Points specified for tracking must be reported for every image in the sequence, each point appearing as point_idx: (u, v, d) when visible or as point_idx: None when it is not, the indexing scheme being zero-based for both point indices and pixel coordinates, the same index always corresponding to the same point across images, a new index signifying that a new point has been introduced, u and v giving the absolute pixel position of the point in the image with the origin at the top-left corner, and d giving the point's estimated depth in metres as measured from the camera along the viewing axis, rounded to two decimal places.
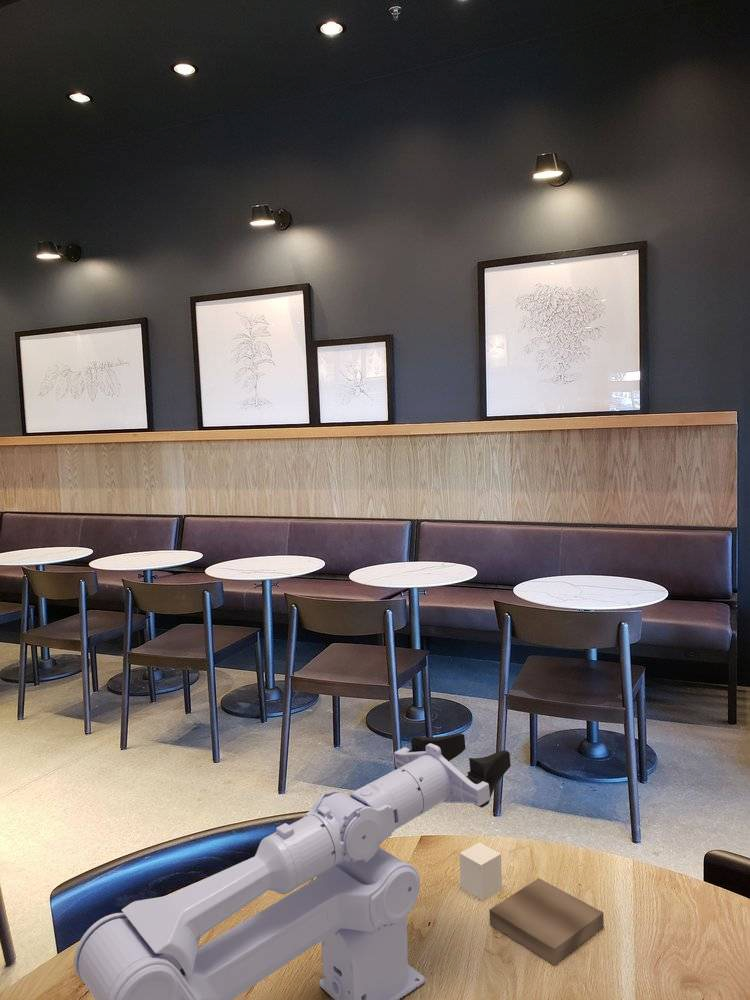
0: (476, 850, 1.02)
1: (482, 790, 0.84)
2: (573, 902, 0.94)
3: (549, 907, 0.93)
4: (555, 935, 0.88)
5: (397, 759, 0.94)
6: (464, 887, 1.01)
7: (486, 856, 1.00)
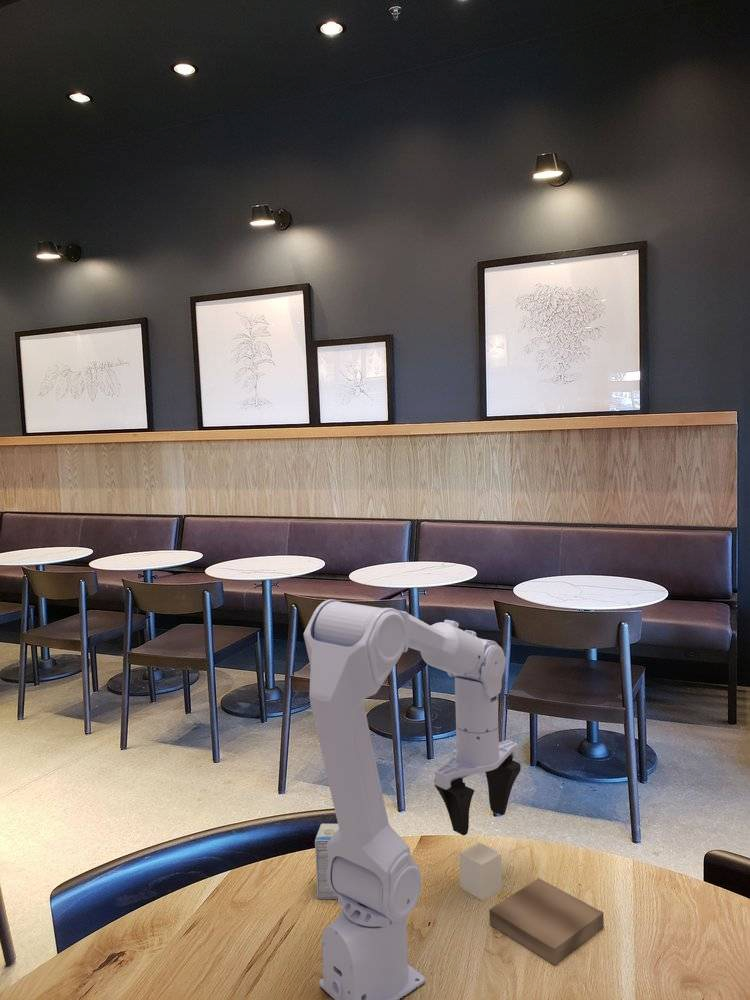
0: (476, 850, 1.02)
1: None
2: (573, 902, 0.94)
3: (549, 907, 0.93)
4: (555, 935, 0.88)
5: (441, 771, 0.96)
6: (464, 887, 1.01)
7: (486, 856, 1.00)
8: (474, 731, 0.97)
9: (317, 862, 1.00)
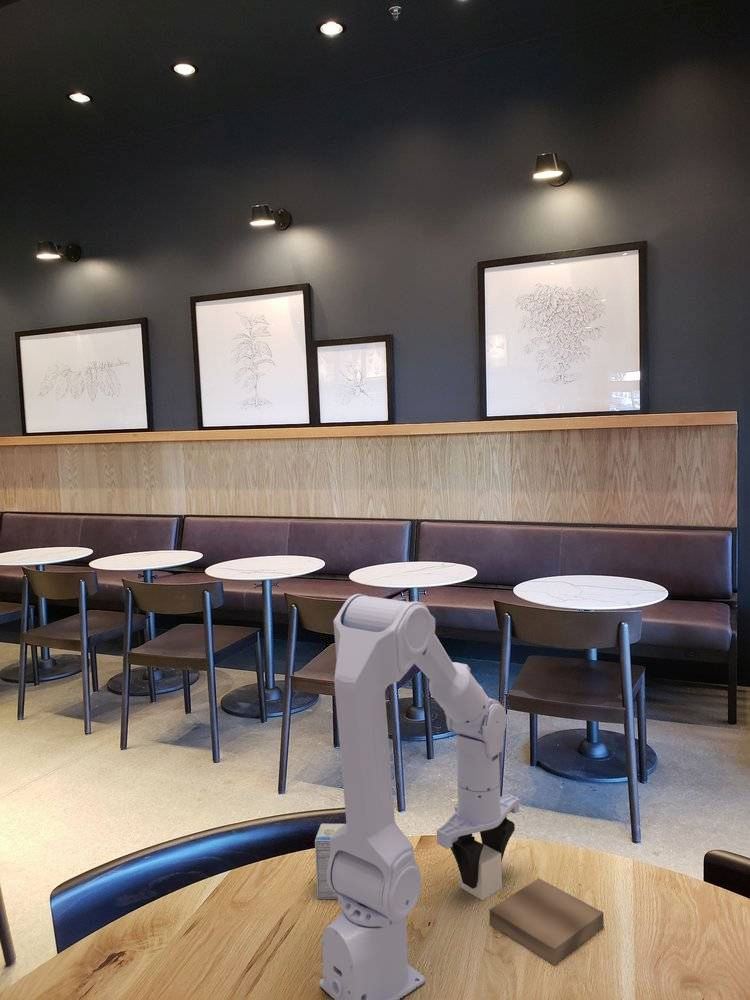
0: None
1: None
2: (573, 902, 0.94)
3: (549, 907, 0.93)
4: (555, 935, 0.88)
5: (443, 830, 0.96)
6: (464, 887, 1.01)
7: (486, 856, 1.00)
8: (476, 790, 0.97)
9: (317, 862, 1.00)
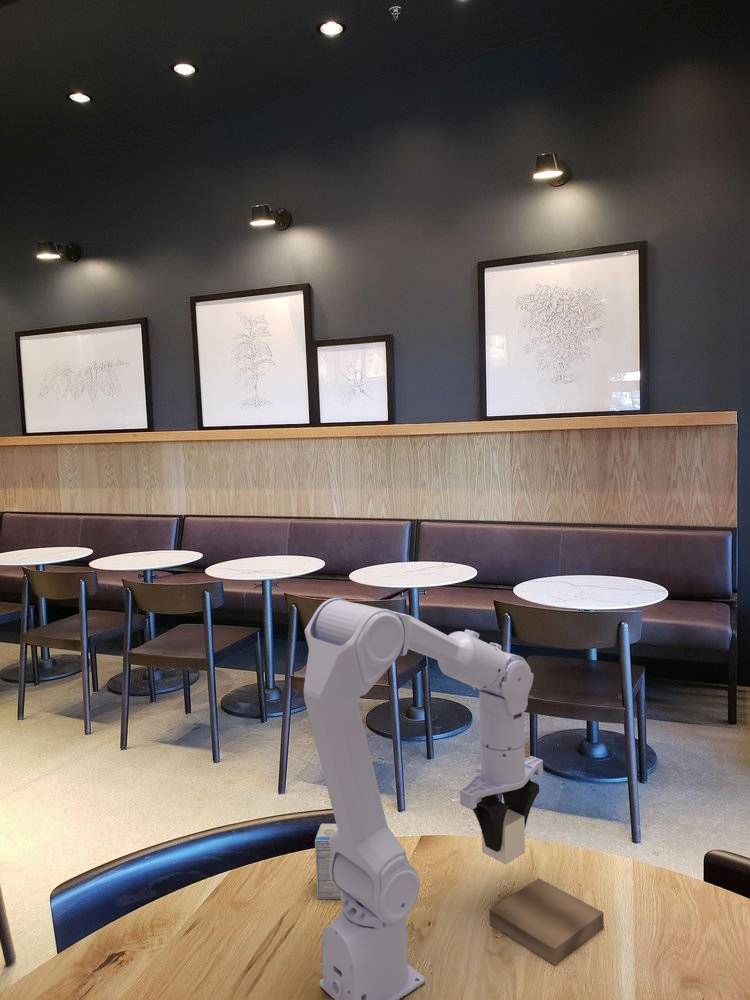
0: None
1: None
2: (573, 902, 0.94)
3: (549, 907, 0.93)
4: (555, 935, 0.88)
5: (467, 790, 0.92)
6: (486, 851, 0.97)
7: (509, 819, 0.96)
8: (496, 748, 0.94)
9: (317, 862, 1.00)
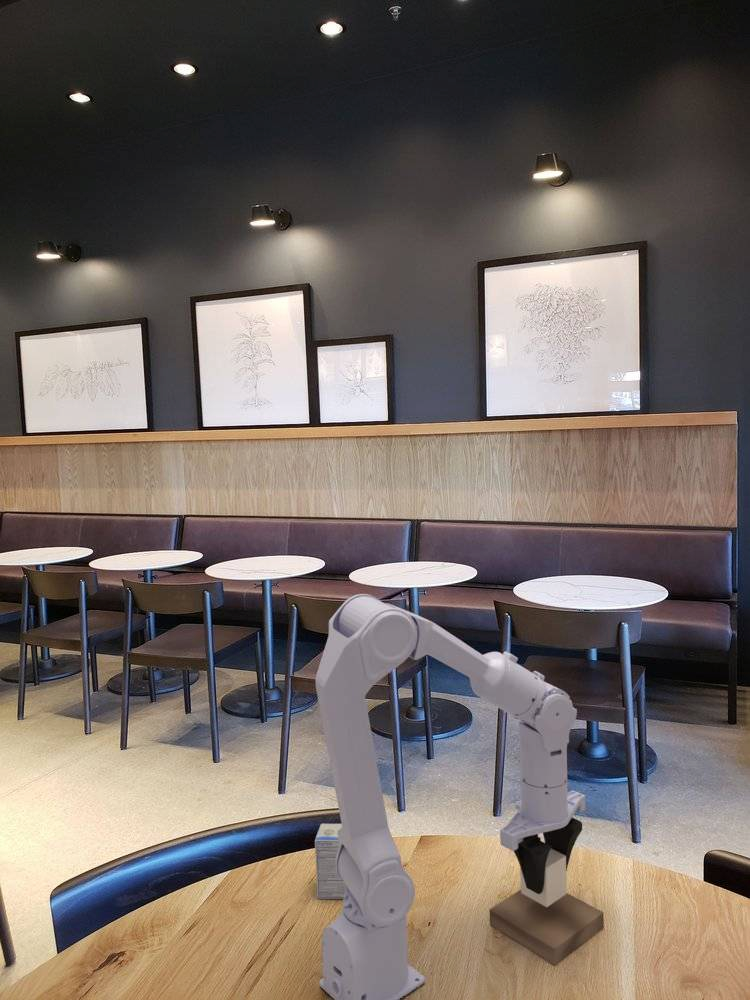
0: None
1: None
2: (573, 902, 0.94)
3: (549, 907, 0.93)
4: (555, 935, 0.88)
5: (508, 830, 0.88)
6: (525, 892, 0.92)
7: (550, 859, 0.92)
8: (531, 783, 0.89)
9: (317, 862, 1.00)
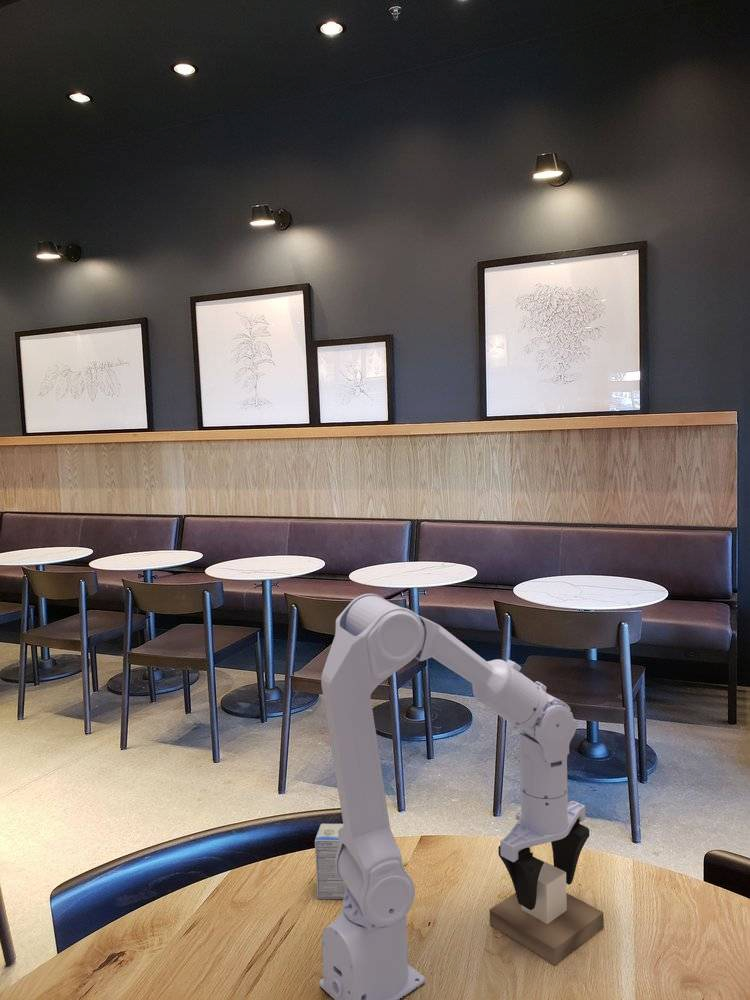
0: None
1: None
2: (573, 902, 0.94)
3: None
4: (555, 935, 0.88)
5: (508, 841, 0.88)
6: (525, 908, 0.93)
7: (550, 875, 0.92)
8: (532, 794, 0.89)
9: (317, 862, 1.00)
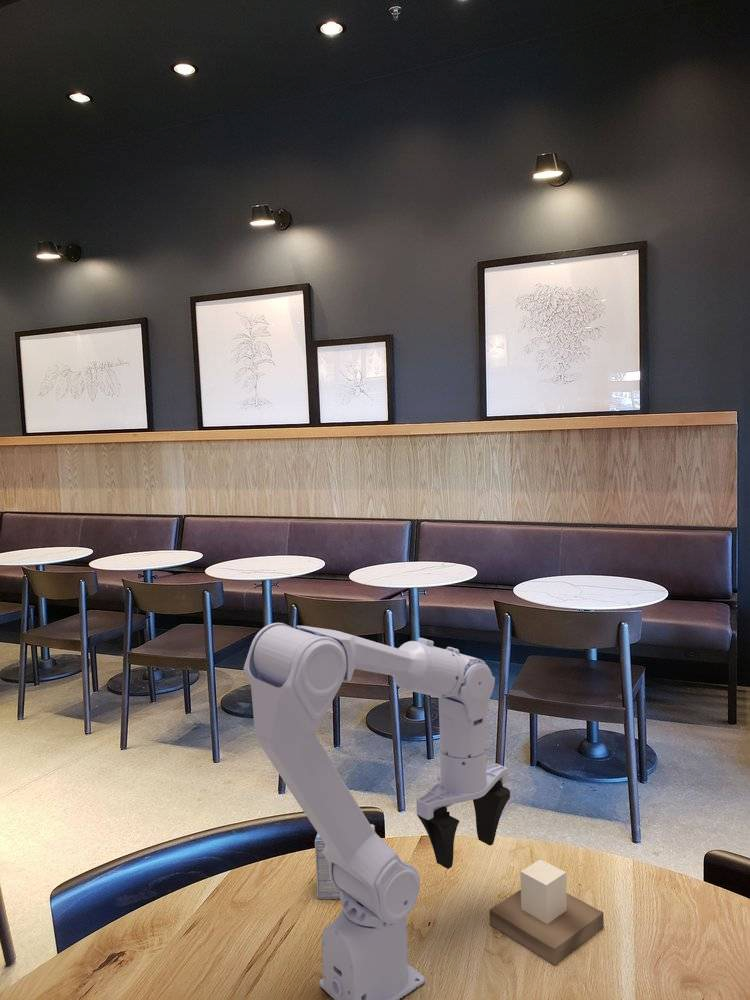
0: (538, 868, 0.93)
1: None
2: (573, 902, 0.94)
3: None
4: (555, 935, 0.88)
5: (424, 800, 0.88)
6: (525, 908, 0.93)
7: (550, 875, 0.92)
8: (455, 755, 0.90)
9: (317, 862, 1.00)
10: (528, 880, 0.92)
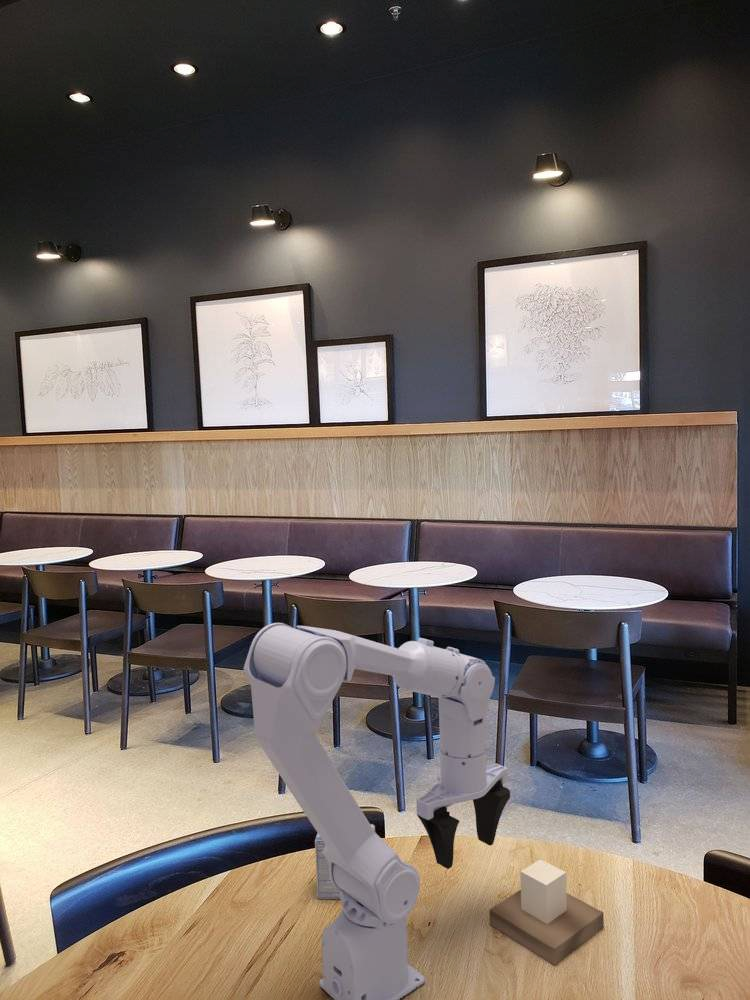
0: (538, 868, 0.93)
1: None
2: (573, 902, 0.94)
3: None
4: (555, 935, 0.88)
5: (424, 800, 0.88)
6: (525, 908, 0.93)
7: (550, 875, 0.92)
8: (455, 755, 0.90)
9: (317, 862, 1.00)
10: (528, 880, 0.92)
